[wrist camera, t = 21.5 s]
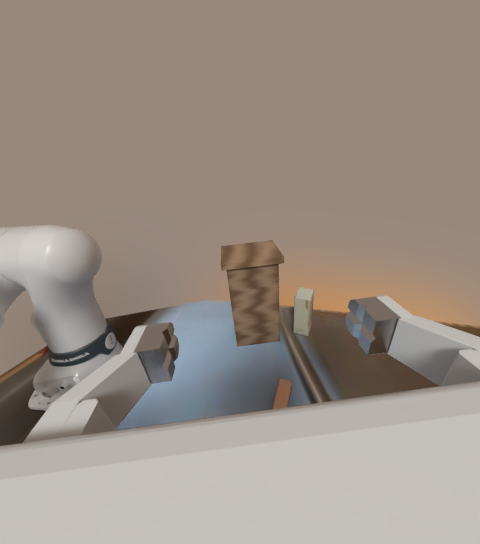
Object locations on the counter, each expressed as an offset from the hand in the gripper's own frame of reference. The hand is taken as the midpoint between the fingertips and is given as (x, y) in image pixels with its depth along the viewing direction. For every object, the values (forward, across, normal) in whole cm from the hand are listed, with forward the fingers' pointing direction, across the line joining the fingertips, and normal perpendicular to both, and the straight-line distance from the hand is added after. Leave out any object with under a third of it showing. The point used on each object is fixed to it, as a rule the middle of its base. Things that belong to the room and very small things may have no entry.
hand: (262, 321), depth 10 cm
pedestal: (+40, +3, -38) cm, 55 cm away
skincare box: (+39, +17, -38) cm, 57 cm away
